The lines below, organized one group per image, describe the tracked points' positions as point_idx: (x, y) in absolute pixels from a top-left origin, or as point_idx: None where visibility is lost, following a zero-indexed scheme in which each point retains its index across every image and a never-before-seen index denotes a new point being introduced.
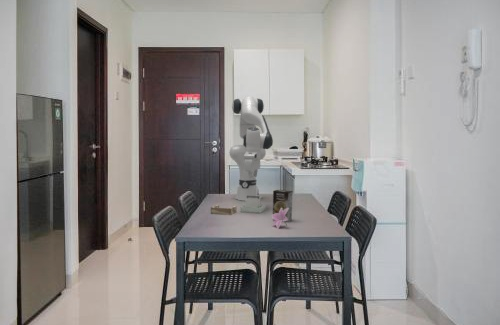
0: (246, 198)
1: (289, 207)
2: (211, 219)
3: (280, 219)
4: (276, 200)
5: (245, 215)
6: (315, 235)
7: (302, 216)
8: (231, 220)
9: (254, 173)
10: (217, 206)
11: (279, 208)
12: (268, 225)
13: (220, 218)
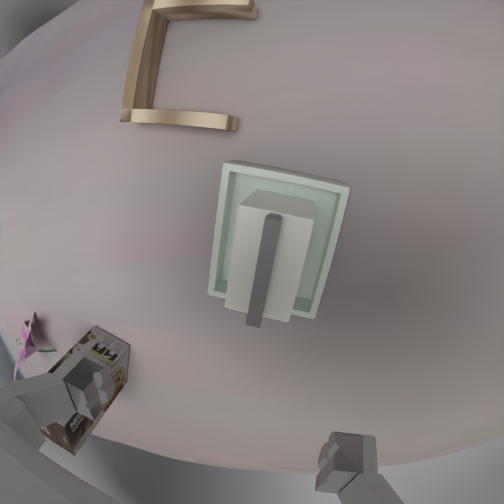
0: (266, 211)
1: None
2: (47, 82)
3: (32, 344)
4: None
5: (140, 207)
6: (27, 377)
7: (192, 420)
8: (44, 168)
9: (354, 481)
10: (220, 6)
11: None
12: (36, 303)
13: (64, 108)
